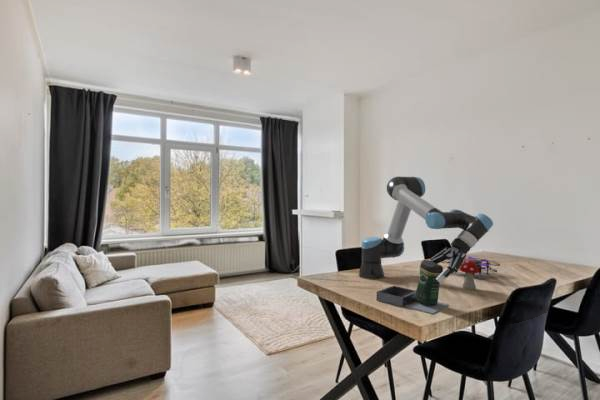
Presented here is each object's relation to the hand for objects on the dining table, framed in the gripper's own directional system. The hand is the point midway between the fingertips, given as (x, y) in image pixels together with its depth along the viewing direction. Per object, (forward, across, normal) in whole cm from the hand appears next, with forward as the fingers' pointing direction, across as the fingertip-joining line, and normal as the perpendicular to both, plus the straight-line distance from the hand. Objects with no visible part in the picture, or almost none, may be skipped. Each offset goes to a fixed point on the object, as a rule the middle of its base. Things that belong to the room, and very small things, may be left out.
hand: (430, 277), depth 146 cm
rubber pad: (+10, 0, -8) cm, 13 cm away
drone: (-29, +56, -48) cm, 79 cm away
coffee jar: (+9, +3, -8) cm, 12 cm away
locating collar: (+17, +10, -1) cm, 20 cm away
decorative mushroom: (-14, +26, -33) cm, 44 cm away
